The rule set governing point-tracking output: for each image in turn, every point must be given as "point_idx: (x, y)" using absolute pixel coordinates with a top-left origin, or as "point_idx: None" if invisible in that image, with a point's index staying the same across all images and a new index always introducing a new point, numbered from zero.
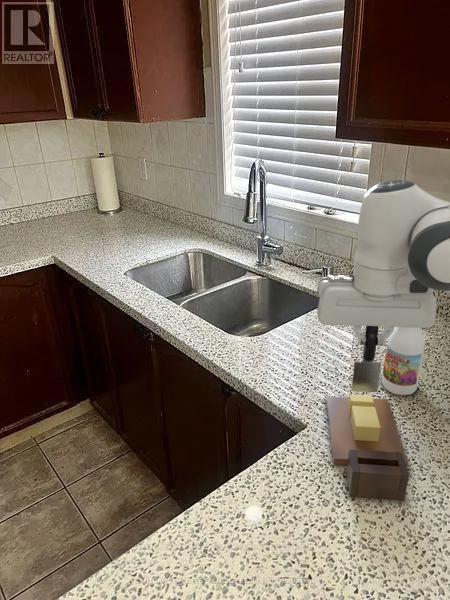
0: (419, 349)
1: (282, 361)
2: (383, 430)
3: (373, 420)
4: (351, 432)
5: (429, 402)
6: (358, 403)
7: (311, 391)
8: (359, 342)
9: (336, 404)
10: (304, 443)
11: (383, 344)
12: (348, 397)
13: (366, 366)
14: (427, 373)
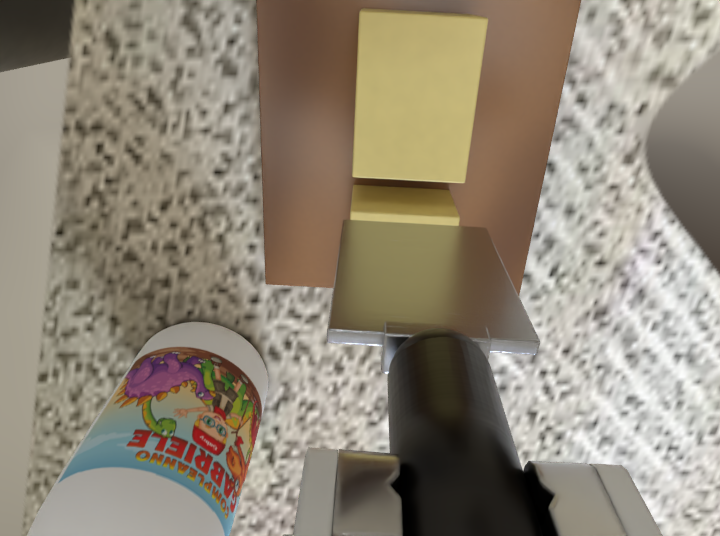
0: (58, 502)
1: None
2: (322, 88)
3: (383, 69)
4: None
5: (103, 286)
6: (421, 210)
7: (554, 340)
8: (619, 489)
9: None
10: (685, 23)
11: (325, 460)
12: None
13: (438, 315)
14: None
